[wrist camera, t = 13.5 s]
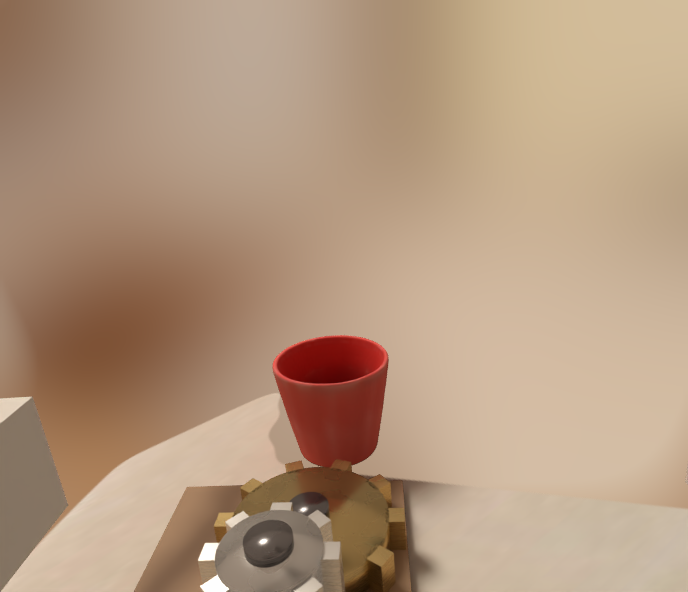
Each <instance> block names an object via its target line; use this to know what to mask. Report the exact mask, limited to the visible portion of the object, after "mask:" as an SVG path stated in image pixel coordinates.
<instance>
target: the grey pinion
mask: <svg viewBox="0 0 688 592" xmlns="http://www.w3.org/2000/svg"><path fill="white" fill-rule="evenodd" d="M225 524H226V529H227V533H226V534H225V535H224V537H223V538H222V539H221V541H220V543H205V545H204V547H203V549H202V552H201V554H200V557H199V559H198V563H199V568H200V573H201V578H202V583H203V585H201V586H200V587H201V592H345V582H344V572H343V562H342V551H341V542H333V536H332V526H331V520H330V519H329V518H328V517H326V516H325V515H324V514H323V513H321V512H320V511H319V510H316V511H315V512H313V513H312V514H310V515H309V516H305V515H303V514H301V513H298V512H295V511H293V505H292V502H280V503H272V505H271V509H270V511H265V512H261V513H258V514H255V515H252V516H250V517H249V516H248V515H247V514H246V513H245V512H244V511H242V512H241V513H239V514H237V515H235V516H234V517H232V518H230V519H229V520H227V521H225Z"/></svg>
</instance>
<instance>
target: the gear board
mask: <svg viewBox="0 0 688 592" xmlns="http://www.w3.org/2000/svg"><path fill="white" fill-rule="evenodd" d="M389 482H390V485H391V501H392V508H404V514H405V507H404V494H403V482H402V480H393V481H389ZM242 486H243V485H236V486H205V487H187V488H186V490H185V492H184V494H183V496H182V498H181V500H180V502H179V504H178V506H177V508H176V510H175V512H174V514H173V516H172V518H171V520H170V521H169V523H168V525H167V527H166V529H165V531H164V533H163V535H162V537H161V539H160V541H159V543H158V545H157V547H156V549H155V551H154V553H153V555H152V557H151V559H150V561H149V563H148V565H147V567H146V569H145V571H144V573H143V575H142V577H141V579H140V581H139V583H138V584H137V586H136V588H135V590H134V592H201V587H200V586H201V585H203V583H202V578H201V573H200V568H199V563H198V559H199V557H200V554H201V552H202V549H203V547H204V545H205V543H217V541H216V535H215V530H214V525H215V522H216V520H217V517H218V514H219V513H231V512H235V510H236V508H237V507H238V505H239V504H240V503H241V502H242V497H241V491H240V487H242ZM405 529H406V519H405ZM406 548H407V550H391V552H393V553H394V566H395V584H394V585H393V586H392V587H391V588H390V590H389V591H388V592H411V581H410V569H409V556H408V544H407V531H406ZM366 592H374V591H373V590H371V589H368V590H367V591H366Z"/></svg>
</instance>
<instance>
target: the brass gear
mask: <svg viewBox="0 0 688 592" xmlns="http://www.w3.org/2000/svg"><path fill="white" fill-rule="evenodd" d="M285 467H286V473H284V474H281V475H278V476H276V477H274V478H272V479H270V480H268V481H266V482H264V483H261V482H259V481H257V480H255V479H254V478H253V479H251V480H250V481H249V482H247V483H246V484H245V485H243V486H242V487H240V491H241V497H242V502H241V503H240V504H239V505H238V507H237V508H236V510H235V512H231V513H219V514H218V517H217V520H216V522H215V525H214V530H215V535H216V541H217V543H220V541H221V539H222V538H223V537H224V535H225V534H226V533H227V529H226V524H225V521H227V520H229V519H230V518H232V517H234V516H235V515H237V514H239V513H241V512H242V511H244V512H245V513H246V514H247V515H248V516H249V517H250V516H252V515H255V514H258V513H261V512H265V511H270V509H271V505H272V503H280V502H292V505H293V511H295V512H298V513H301V514H303V515H305V516H309V515H310V514H312V513H313V512H315V511H316V510H319V511H320V512H321V513H323V514H324V515H325V516H326V517H328V518H329V519H330V520H331V526H332V536H333V542H341V551H342V562H343V572H344V582H345V592H366V591H367V590H368V589H371V590H373V591H374V592H388V591H389V590H390V588H391V587H392V586H393V585H394V584H395V566H394V553H393V552H391V550H407V548H406V529H405V514H404V508H392V501H391V485H390V482H389V481H387V480H386V479H385V478H384V477H383V476H381V475H380V474H379V475H377V476H375V477H373V478H371V479H369V480H367V479H366V478H364V477H362V476H360V475H358V474H356V473H353V472H352V467H351V462H349V461H343V460H337V459H336V460H335V461H334V463H333V464H332V466H331V468H330V467H312V468H304V467H303V464H302V461H298V462H293V463H288V464H285Z"/></svg>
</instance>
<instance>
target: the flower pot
mask: <svg viewBox="0 0 688 592" xmlns="http://www.w3.org/2000/svg"><path fill="white" fill-rule="evenodd" d="M387 370H388V354H387V352H386V350H385V349H384V348H383V347H382V346H381V345H379V344H378V343H376V342H374V341H371V340H369V339H366V338H361V337H356V336H342V335H340V336H325V337H318V338H313V339H309V340H305V341H302V342H299V343H297V344H294V345H292V346H290V347H288V348H287V349H285V350H284V351H282V352H281V353H280V354H279V355H278V356H277V357H276V358H275V360H274V362H273V372H274V376H275V379H276V382H277V385H278V388H279V391H280V394H281V397H282V400H283V403H284V406H285V409H286V412H287V415H288V418H289V421H290V424H291V426H292V429H293V432H294V434H295V437H296V439H297V442H298V445H299V448H300V450H301V453H302V454H303V456H304V457H305V458H306V459H307V460H308V461H310V462H311V463H313V464H316V465H318V466H322V467H330V468H331V466H332V464H333V463H334V461H335V460H336V459H337V460H343V461H349V462H351V465H355V464H357V463H359V462H362V461H363V460H365V459H367V458H368V457H369V456H370V455H371V454H372V453H373V452H374V450H375V448H376V446H377V442H378V436H379V430H380V423H381V417H382V409H383V401H384V393H385V386H386V378H387Z"/></svg>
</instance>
